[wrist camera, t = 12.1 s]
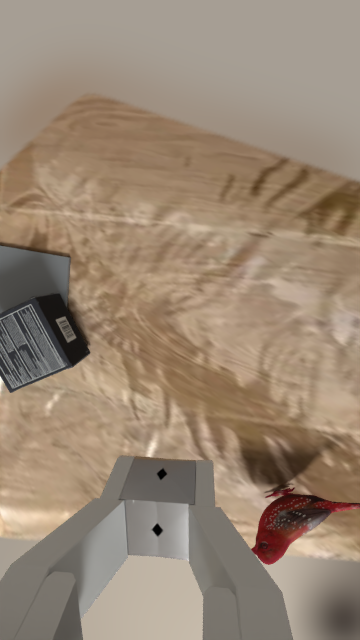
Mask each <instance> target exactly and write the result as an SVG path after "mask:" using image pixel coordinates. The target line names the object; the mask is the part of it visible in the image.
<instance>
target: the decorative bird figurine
mask: <svg viewBox="0 0 360 640" xmlns="http://www.w3.org/2000/svg"><path fill="white" fill-rule="evenodd" d="M294 488H295V487H294ZM294 488H293V489H292V490H291V489H290V488H288V489H285V490H279V491H275V492H274V493H273V494H271V495H269V496H266V498H268V497H270V496H279V495H284V496H282V497H280V498H278V499H276V500H275V501H273V502H272V503H271V504H270V505H269V506H268V507H267V508H266V509H265V510H264V512H263V514H262V516H261V518H260V521H259V526H258V533H257V536H256V545H255V547H254V548H252V549H251V550H252V552H253V553H254V554H256V555H257V556H258V558H259V559H260V560H261V561H262V562H263V563H265V564H268V565H269V564H273V563H275V562H276V561H277V560H279V559H280V558H281V557H282V556H283V555H284V553H285V552H286V550H287V548H288V547H289V545H290V544H291V543H292V542H293V541H295V540H296V539H297V538H299V537H300V536H302V535H304V534H306V533H307V532H309V531H311V530H312V529H313V528H315V527H316V526H318V525H319V524H320V523H321V522H322V521H324V520H325V519H326V518H327V517H328V516H329V515H330V514H331V513H332V512H337V511H343V510H350V509H357V508H360V503H342V502H332V501H328V500H325V499H322V498H320V497H317V496H314V495H300V494H293V493H288V492H291V491H293V490H294Z"/></svg>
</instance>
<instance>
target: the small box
mask: <svg viewBox="0 0 360 640" xmlns="http://www.w3.org/2000/svg"><path fill="white" fill-rule="evenodd" d="M89 354H90V351H89V349H88V347H87V345H86V343H85V342H84V340H83V338H82V336H81V334H80V332H79V330H78V328H77V326H76V324H75V322H74V321H73V319H72V317H71V315H70V313H69V311H68V309H67V307H66V305H65V303H64V301H63V299H62V298H61V295H60V294H59V293H51V294H47V295H39V296H33V297H31V298H30V299H29V300H27V301H25V302H23V303H21V304H19V305H17V306H15V307H12V308H10V309H8V310H6V311H4V312H2V313H0V376H1V378H2V380H3V381H4V383H5V385H6V387H7V388H8V390H9V392H10V393H12V392H14V391H16V390H18V389H20V388H22V387H25V386H27V385H29V384H32V383H35V382H37V381H39V380H42V379H44V378H46V377H49V376H51V375H54V374H56V373H58V372H61V371H63V370H65V369H69V368H72V367H74V366H75V365H76V364H78V363H79V362H80V361H81V360H83V359H84V358H85V357H86V356H88V355H89Z"/></svg>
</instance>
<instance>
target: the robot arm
mask: <svg viewBox="0 0 360 640" xmlns="http://www.w3.org/2000/svg"><path fill="white" fill-rule="evenodd" d="M128 555H138V556H139V555H140V556H156V557H158V556H159V557H165V558H173V559H182V560H189V564H190V566H191V568H192V571H193V573H194V576H195V578H196V580H197V583H198V585H199V587H200V590H201V592H202V595H203V598H204V599H203V640H293V637H292V633H291V629H290V625H289V620H288V616H287V611H286V607H285V603H284V599H283V594H282V592H281V590H280V589H279V588H278V586H277V585H276V584H275V582H274V581H273V579H272V578H271V576H270V575H269V574H268V572H267V571H266V570H265V568H264V567H263V565H262V564H261V563H260V561H259V560H258V559H257V557H256V556H255V554H254V553H253V552H252V550H251V549H250V547H249V546H248V545H247V543H246V542H245V541H244V539H243V538H242V536H241V535H240V534H239V532H238V531H237V530H236V528H235V527H234V525H233V524H232V523H231V521H230V520H229V519H228V517H227V516H226V514H225V513H224V512H223V510H222V509H221V508H220V507H215V492H214V470H213V462H212V460H197V463H196V460H180V459H163V458H151V457H139V456H136V457H134V456H123V455H120V457H119V458H118V459H117V461H116V463H115V465H114V468H113V470H112V472H111V474H110V477H109V479H108V481H107V483H106V486H105V488H104V490H103V493H102V495H101V497H100V499H99V498H95V499H93V500H92V501H91V502H90V503H88V504H87V505H86V506H85V507H83V508H82V509H81V510H79V511H78V512H77V513H76V514H74V515H73V516H72V517H71V518H69V519H68V520H67V521H66V522H64V523H63V524H62V525H60V526H59V527H58V528H57V529H55V530H54V531H53V532H52V533H50V534H49V535H48V536H46V537H45V538H44V539H43V540H41V541H40V542H39V543H38V544H36V545H35V546H34V547H33V548H31V549H30V550H29V551H27V552H26V553H25V554H24V555H22V556H21V557H20V558H19V559H17V560H16V561H15V562H14V563H12V564H11V565H10V567H9V569H8V570H7V571H6V573H5V575H4V576H3V578H2V579H1V581H0V640H83V635H82V628H81V618H82V617H83V616H84V614H85V613H86V611H87V610H88V609H89V608H90V607H91V605H92V604H93V602H94V601H95V600H96V599H97V597H98V596H99V595H100V593H101V592H102V591H103V589H104V588H105V587H106V585H107V584H108V583H109V581H110V580H111V579H112V578H113V576H114V575H115V574H116V572H117V571H118V570H119V568H120V567H121V566H122V564H123V563H124V562H125V561H126V559H127V558H128Z"/></svg>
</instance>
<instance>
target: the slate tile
mask: <svg viewBox="0 0 360 640" xmlns="http://www.w3.org/2000/svg"><path fill="white" fill-rule="evenodd" d="M70 259H71V258H70V257H64V256H58V255H53V254H47V253H41V252H35V251H30V250H24V249H18V248H12V247H7V246H1V245H0V313H2V312H4V311H6V310H8V309H10V308H12V307H15V306H17V305H19V304H21V303H23V302H25V301H27V300H29V299H30V298H31V297H33V296H39V295H47V294H51V293H59V294H60V295H61V298H62V299H63V301H64V303H65V305H66V307H67V305H68V290H69V274H70Z"/></svg>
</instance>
